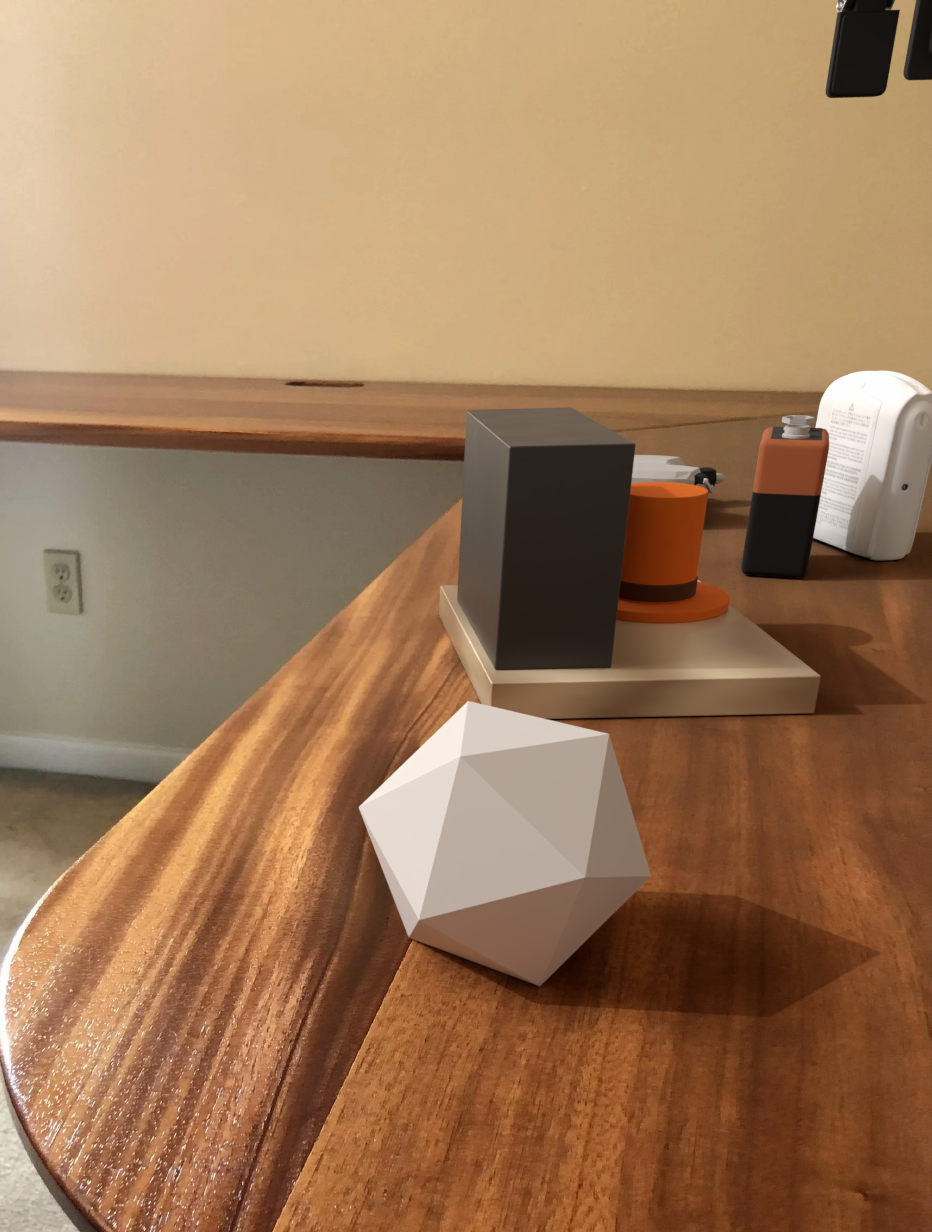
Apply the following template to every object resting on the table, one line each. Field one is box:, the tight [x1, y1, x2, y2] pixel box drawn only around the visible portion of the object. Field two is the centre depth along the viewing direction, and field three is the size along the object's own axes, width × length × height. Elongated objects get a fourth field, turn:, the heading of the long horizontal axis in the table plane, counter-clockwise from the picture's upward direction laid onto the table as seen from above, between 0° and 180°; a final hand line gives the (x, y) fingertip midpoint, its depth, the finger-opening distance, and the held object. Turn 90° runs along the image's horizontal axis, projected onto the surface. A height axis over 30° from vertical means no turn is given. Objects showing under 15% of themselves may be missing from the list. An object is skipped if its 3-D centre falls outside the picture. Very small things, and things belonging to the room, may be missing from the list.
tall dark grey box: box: [457, 406, 636, 670], centre depth 70 cm, size 6×14×11 cm, turn 0°
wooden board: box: [438, 579, 822, 720], centre depth 74 cm, size 16×20×2 cm
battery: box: [740, 414, 829, 579], centre depth 91 cm, size 4×7×10 cm, turn 159°
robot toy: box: [631, 454, 725, 495], centre depth 111 cm, size 12×4×15 cm
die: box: [358, 700, 652, 987], centre depth 43 cm, size 8×9×10 cm
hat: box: [616, 482, 730, 623], centre depth 76 cm, size 9×9×7 cm
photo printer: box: [813, 370, 932, 562], centre depth 95 cm, size 10×4×12 cm, turn 11°
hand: (893, 88), depth 68 cm, fingers open, 9 cm apart
